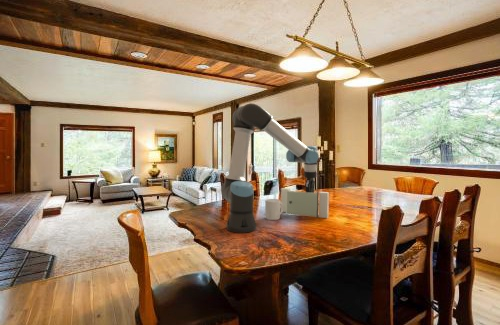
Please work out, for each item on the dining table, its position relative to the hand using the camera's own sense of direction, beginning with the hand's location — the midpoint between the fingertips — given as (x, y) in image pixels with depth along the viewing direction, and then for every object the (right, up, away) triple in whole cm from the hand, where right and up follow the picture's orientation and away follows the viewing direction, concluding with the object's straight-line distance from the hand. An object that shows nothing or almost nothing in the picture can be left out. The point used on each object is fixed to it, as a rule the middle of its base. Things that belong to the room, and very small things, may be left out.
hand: (309, 208), depth 166 cm
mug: (-23, -4, -9) cm, 25 cm away
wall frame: (-4, -4, 0) cm, 5 cm away
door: (-6, -4, -5) cm, 8 cm away
